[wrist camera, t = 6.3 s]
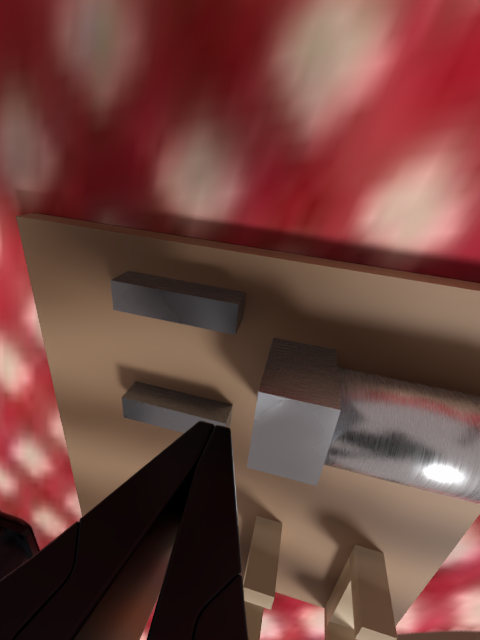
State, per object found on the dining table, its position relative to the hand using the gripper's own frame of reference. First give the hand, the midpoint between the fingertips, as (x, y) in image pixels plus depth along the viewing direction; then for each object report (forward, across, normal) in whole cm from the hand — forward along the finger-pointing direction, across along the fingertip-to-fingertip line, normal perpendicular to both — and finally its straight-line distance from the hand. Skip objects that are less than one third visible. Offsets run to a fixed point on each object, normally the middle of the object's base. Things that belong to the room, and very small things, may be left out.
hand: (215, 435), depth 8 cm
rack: (+3, -4, +11) cm, 12 cm away
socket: (+3, +2, 0) cm, 4 cm away
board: (+4, -1, +5) cm, 7 cm away
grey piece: (+3, -5, 0) cm, 6 cm away
